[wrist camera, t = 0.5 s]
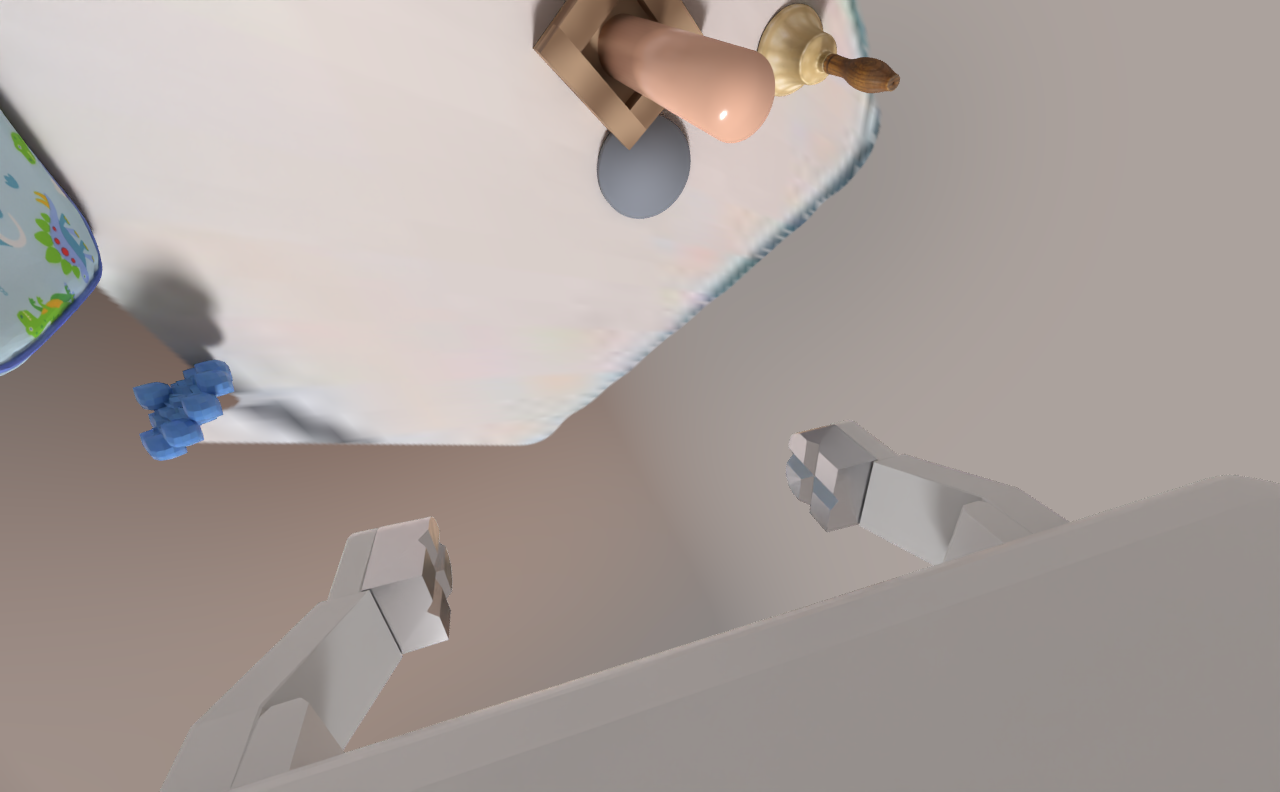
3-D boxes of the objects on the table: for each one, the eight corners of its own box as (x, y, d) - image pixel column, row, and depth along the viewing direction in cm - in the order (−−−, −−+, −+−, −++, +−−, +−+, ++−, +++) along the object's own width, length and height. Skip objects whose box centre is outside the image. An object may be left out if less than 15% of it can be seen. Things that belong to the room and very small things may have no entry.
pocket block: (532, 48, 44) (540, 53, 42) (620, -76, 41) (632, -77, 39) (619, 142, 52) (629, 150, 50) (698, 45, 49) (712, 49, 47)
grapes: (188, 313, 48) (148, 389, 40) (262, 349, 53) (240, 423, 45) (120, 386, 50) (69, 473, 42) (198, 414, 55) (165, 497, 47)
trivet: (612, 100, 49) (615, 102, 49) (700, 128, 55) (704, 130, 54) (586, 206, 56) (589, 209, 55) (668, 222, 61) (671, 225, 60)
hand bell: (835, 30, 53) (950, 53, 42) (790, 108, 57) (885, 148, 46) (786, -16, 49) (902, -3, 38) (741, 73, 52) (834, 107, 42)
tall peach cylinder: (605, 4, 43) (723, 36, 28) (655, 25, 46) (788, 65, 31) (591, 70, 46) (691, 132, 31) (639, 87, 49) (753, 151, 34)
